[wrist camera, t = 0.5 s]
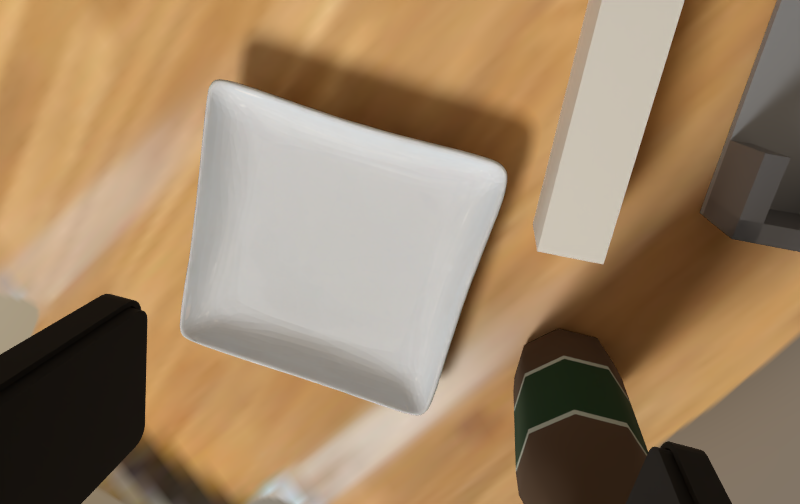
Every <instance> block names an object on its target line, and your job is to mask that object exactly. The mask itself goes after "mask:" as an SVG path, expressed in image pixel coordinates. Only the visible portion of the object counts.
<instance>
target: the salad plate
mask: <svg viewBox="0 0 800 504" xmlns="http://www.w3.org/2000/svg"><path fill="white" fill-rule="evenodd" d="M506 185H507V171H506V170H505V168H504V167H503V166H502V165H501V164H500V163H498V162H496V161H494V160H492V159H489V158H486V157H483V156H480V155H476V154H473V153H469V152H466V151H462V150H458V149H454V148H450V147H446V146H442V145H438V144H434V143H430V142H426V141H422V140H418V139H414V138H410V137H406V136H402V135H398V134H395V133H391V132H387V131H384V130H380V129H377V128H373V127H370V126H366V125H363V124H359V123H356V122H353V121H349V120H346V119H343V118H340V117H337V116H334V115H331V114H328V113H325V112H322V111H319V110H316V109H313V108H310V107H307V106H304V105H301V104H298V103H295V102H292V101H289V100H286V99H284V98H281V97H278V96H275V95H272V94H270V93H267V92H263V91H261V90H258V89H255V88H252V87H249V86H246V85H243V84H239V83H236V82H232V81H228V80H220V79H219V80H215V81H213V82H212V84H211V85H210V87H209V90H208V96H207V103H206V111H205V119H204V129H203V140H202V150H201V160H200V170H199V180H198V189H197V199H196V208H195V216H194V225H193V234H192V243H191V249H190V257H189V263H188V268H187V274H186V280H185V287H184V294H183V300H182V309H181V319H180V330H181V333H182V335H183V336H184V337H185V338H187V339H189V340H191V341H193V342H195V343H198V344H201V345H203V346H206V347H208V348H211V349H214V350H217V351H220V352H223V353H226V354H229V355H232V356H235V357H238V358H241V359H244V360H247V361H250V362H253V363H256V364H259V365H262V366H266V367H269V368H272V369H275V370H278V371H281V372H284V373H287V374H290V375H294V376H297V377H300V378H303V379H306V380H309V381H312V382H315V383H318V384H321V385H324V386H327V387H330V388H333V389H336V390H339V391H342V392H344V393H347V394H350V395H353V396H356V397H358V398H361V399H364V400H367V401H370V402H373V403H376V404H379V405H382V406H384V407H387V408H390V409H394V410H397V411H400V412H403V413H407V414H410V415H422V414H423V413H425V412H426V411H427V410H428V408H429V406H430V404H431V402H432V400H433V397H434V394H435V392H436V389H437V386H438V382H439V379H440V376H441V373H442V369H443V366H444V363H445V360H446V357H447V354H448V351H449V347H450V344H451V341H452V338H453V335H454V332H455V329H456V326H457V323H458V320H459V317H460V314H461V311H462V307H463V305H464V302H465V299H466V296H467V293H468V291H469V288H470V285H471V282H472V280H473V277H474V274H475V272H476V269H477V267H478V264H479V261H480V259H481V256H482V253H483V251H484V248H485V246H486V243H487V241H488V238H489V236H490V233H491V230H492V228H493V225H494V223H495V220H496V218H497V215H498V213H499V210H500V207H501V204H502V201H503V198H504V194H505V190H506Z"/></svg>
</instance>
